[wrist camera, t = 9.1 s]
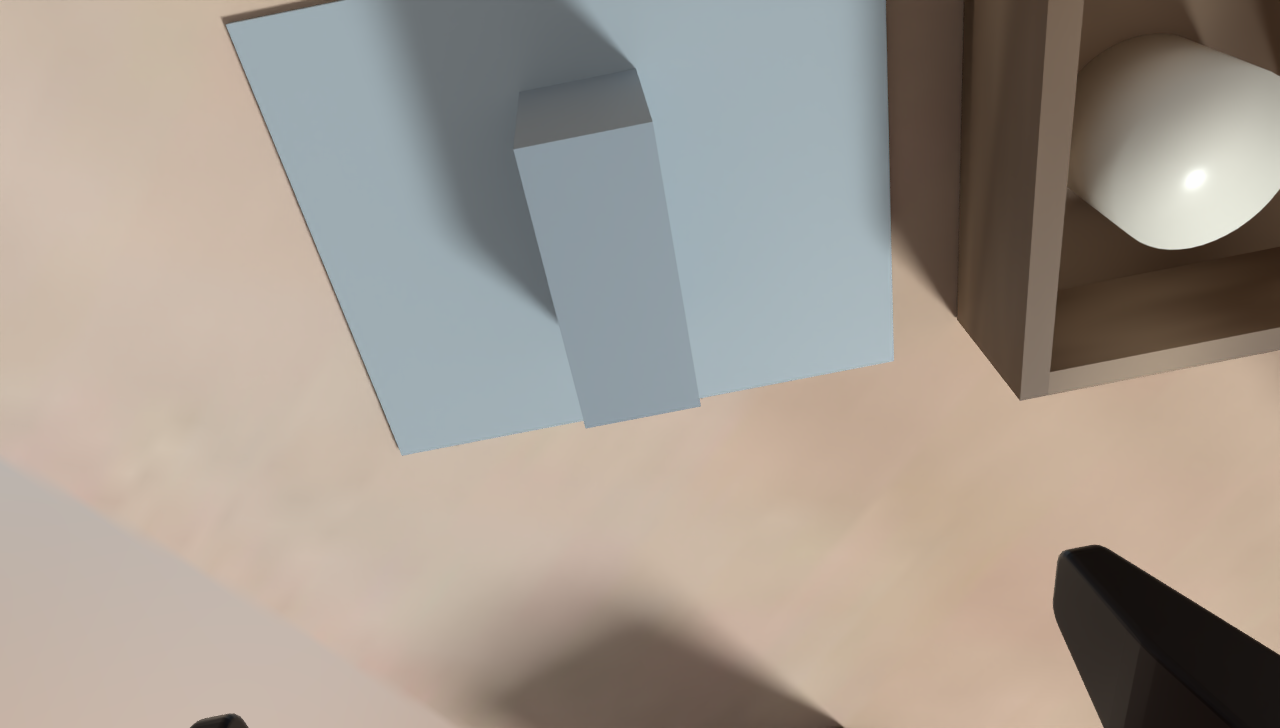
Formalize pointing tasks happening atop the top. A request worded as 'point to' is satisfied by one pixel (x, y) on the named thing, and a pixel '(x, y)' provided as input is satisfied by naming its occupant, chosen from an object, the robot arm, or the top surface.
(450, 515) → the top surface
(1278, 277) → the box
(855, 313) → the lid
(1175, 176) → the puck cream
